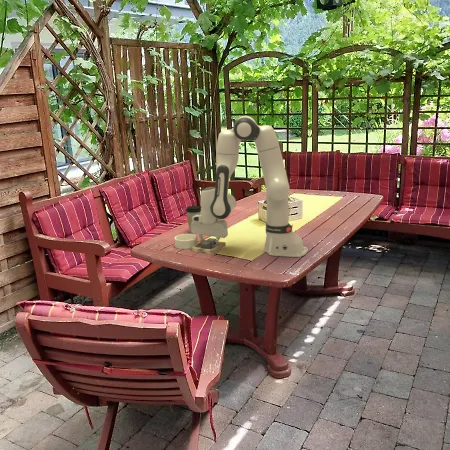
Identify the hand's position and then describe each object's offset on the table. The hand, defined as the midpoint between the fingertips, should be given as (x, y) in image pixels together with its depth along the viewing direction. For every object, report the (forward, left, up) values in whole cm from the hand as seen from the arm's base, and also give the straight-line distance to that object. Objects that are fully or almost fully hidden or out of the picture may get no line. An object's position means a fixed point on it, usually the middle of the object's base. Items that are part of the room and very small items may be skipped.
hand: (209, 243), depth 249 cm
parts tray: (-1, +3, -3) cm, 4 cm away
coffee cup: (+22, -23, -3) cm, 32 cm away
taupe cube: (-1, 0, -2) cm, 2 cm away
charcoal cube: (-1, +6, -2) cm, 6 cm away
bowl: (+13, +3, -3) cm, 13 cm away
